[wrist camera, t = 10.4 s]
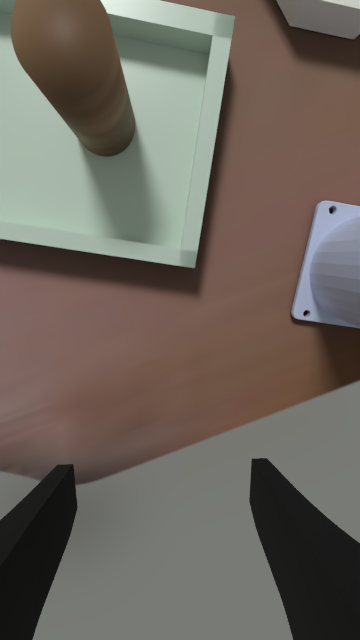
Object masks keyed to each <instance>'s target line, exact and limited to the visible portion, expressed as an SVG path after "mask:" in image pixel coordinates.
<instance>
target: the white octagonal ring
mask: <svg viewBox="0 0 360 640" xmlns="http://www.w3.org/2000/svg"><path fill="white" fill-rule="evenodd" d="M276 1H277V3H278V5H279V7H280V8H281V10H282V12H283V14H284V16H285V18H286V20H287V22H288V24H289V26H293V27H297V28H302V29H306V30H311V31H316V32H320V33H325V34H330V35H334V36H339V37H344V38H348V39H353V40H354V39H355V38H356V37H357V36H359V35H360V0H276Z"/></svg>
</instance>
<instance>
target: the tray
mask: <svg viewBox="0 0 360 640" xmlns="http://www.w3.org/2000/svg"><path fill="white" fill-rule="evenodd" d="M16 1H17V0H0V239H5V240H12V241H18V242H25V243H32V244H38V245H45V246H51V247H58V248H64V249H71V250H78V251H84V252H91V253H97V254H104V255H110V256H117V257H124V258H130V259H137V260H143V261H150V262H157V263H163V264H170V265H176V266H183V267H189V268H195V264H196V258H197V252H198V246H199V239H200V233H201V227H202V220H203V214H204V208H205V202H206V195H207V189H208V183H209V177H210V170H211V164H212V158H213V151H214V145H215V139H216V133H217V126H218V120H219V114H220V108H221V101H222V95H223V89H224V82H225V76H226V70H227V64H228V57H229V51H230V45H231V39H232V32H233V26H234V20H235V17H234V16H230V15H225V14H220V13H216V12H211V11H207V10H202V9H197V8H193V7H188V6H183V5H179V4H174V3H169V2H165V1H160V0H100V1H101V2H102V4H103V6H104V7H105V9H106V12H107V14H108V16H109V20H110V23H111V27H112V31H113V34H114V38H115V42H116V46H117V50H118V54H119V58H120V62H121V66H122V70H123V73H124V77H125V81H126V85H127V89H128V93H129V97H130V101H131V105H132V109H133V113H134V117H135V133H134V137H133V139H132V141H131V143H130V145H129V146H128V147H127V148H126V149H125V150H124V151H123V152H121V153H119V154H117V155H115V156H110V157H105V156H99V155H96V154H94V153H92V152H90V151H89V150H88V149H87V148H86V147H84V145H83V144H82V143H81V142H80V140H79V139H78V138H77V137H76V135H75V134H74V133H73V132H72V130H71V129H70V128H69V126H68V125H67V124H66V123H65V121H64V120H63V119H62V118H61V116H60V115H59V114H58V112H57V111H56V110H55V109H54V107H53V106H52V105H51V104H50V102H49V101H48V100H47V98H46V97H45V96H44V95H43V93H42V92H41V91H40V90H39V88H38V87H37V86H36V85H35V83H34V82H33V81H32V79H31V78H30V77H29V76H28V74H27V73H26V72H25V71H24V69H23V68H22V66H21V64H20V63H19V61H18V59H17V57H16V54H15V51H14V48H13V44H12V39H11V17H12V12H13V9H14V6H15V3H16Z"/></svg>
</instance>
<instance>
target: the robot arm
mask: <svg viewBox="0 0 360 640" xmlns="http://www.w3.org/2000/svg"><path fill="white" fill-rule="evenodd" d="M330 207H332V208H333V213H332V214H330V213H329V208H330ZM305 310H307V311H308V314H307V315H306V316H304V315H303V313H304V311H305ZM291 314H292V316H293V317H294V318H296V319H299V320H306V321H313V322H320V323H327V324H334V325H341V326H348V327H355V328H360V206H355V205H349V204H343V203H338V202H332V201H322V202H320V203H318V204H317V206H316V208H315V213H314V217H313V221H312V225H311V229H310V234H309V238H308V242H307V246H306V251H305V255H304V259H303V263H302V267H301V272H300V276H299V280H298V284H297V288H296V293H295V297H294V301H293V305H292V310H291ZM250 486H251V487H250V505H251V510H252V514H253V518H254V522H255V526H256V529H257V532H258V535H259V538H260V541H261V543H262V546H263V549H264V552H265V555H266V557H267V560H268V563H269V565H270V568H271V571H272V574H273V577H274V579H275V582H276V585H277V588H278V590H279V593H280V596H281V599H282V602H283V605H284V608H285V611H286V614H287V618H288V622H289V625H290V629H291V633H292V636H293V640H360V543H358V542H357V541H356V540H354V539H353V538H352V537H351V536H349V535H348V534H347V533H346V532H344V531H343V530H341V529H340V528H339V527H338V526H337V525H335V524H334V523H333V522H332V521H331V520H329V519H328V518H327V517H326V516H325V515H324V514H323V513H321V512H320V511H319V510H318V509H317V508H316V507H314V505H312V504H311V503H310V502H309V501H308V500H307V499H306V498H305V497H304V496H303V495H302V494H301V493H300V492H299V491H298V490H297V489H296V488H294V486H293V485H292V484H291V483H290V482H289V481H288V480H287V479H286V478H285V477H284V476H283V475H282V474H281V473H280V472H279V471H278V470H277V468H276V467H275V466H274V465H273V464H272V463H271V462H270V461H269V460H268V459H267V458H264V459H263V458H260V459H252V466H251V484H250ZM76 511H77V498H76V488H75V478H74V468H73V464H69V465H57V466H56V467H55V468H54V469H53V470H52V471H51V472H50V473H49V474H48V475H47V476H46V477H45V478H44V479H43V480H42V481H41V482H40V483H39V484H38V485H37V486H36V487H35V488H34V489H33V490H32V491H31V492H30V493H29V494H28V495H27V496H26V497H25V498H24V499H23V500H22V501H21V502H20V503H19V504H17V505H16V506H15V507H14V508H13V509H12V510H11V511H10V512H9V513H8V514H7V515H6V516H4V517H3V519H1V520H0V640H32V639H33V636H34V632H35V629H36V626H37V623H38V620H39V617H40V614H41V611H42V608H43V606H44V603H45V600H46V598H47V595H48V593H49V590H50V587H51V585H52V582H53V580H54V577H55V574H56V572H57V569H58V566H59V563H60V561H61V558H62V556H63V553H64V551H65V548H66V545H67V542H68V540H69V537H70V533H71V530H72V526H73V522H74V519H75V515H76Z"/></svg>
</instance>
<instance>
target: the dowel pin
mask: <svg viewBox="0 0 360 640" xmlns="http://www.w3.org/2000/svg"><path fill="white" fill-rule="evenodd" d="M11 39H12V44H13V48H14V51H15V54H16V57H17V59H18V61H19V63H20V64H21V66H22V68H23V69H24V71H25V72H26V73H27V74H28V76H29V77H30V78H31V79H32V81H33V82H34V83H35V85H36V86H37V87H38V88H39V90H40V91H41V92H42V93H43V95H44V96H45V97H46V98H47V100H48V101H49V102H50V104H51V105H52V106H53V107H54V109H55V110H56V111H57V112H58V114H59V115H60V116H61V118H62V119H63V120H64V121H65V123H66V124H67V125H68V126H69V128H70V129H71V130H72V132H73V133H74V134H75V135H76V137H77V138H78V139H79V140H80V142H81V143H82V144H83V145H84V147H86V148H87V149H88V150H89V151H90V152H92V153H94V154H96V155H99V156H105V157H110V156H115V155H117V154H119V153H121V152H123V151H124V150H125V149H126V148H127V147H128V146H129V145H130V143H131V141H132V139H133V137H134V133H135V117H134V113H133V109H132V105H131V101H130V97H129V93H128V89H127V85H126V81H125V77H124V73H123V70H122V66H121V62H120V58H119V54H118V50H117V46H116V42H115V38H114V34H113V31H112V27H111V23H110V20H109V16H108V14H107V12H106V9H105V7H104V6H103V4H102V2H101V1H100V0H17V1H16V3H15V6H14V9H13V12H12V17H11Z"/></svg>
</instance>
